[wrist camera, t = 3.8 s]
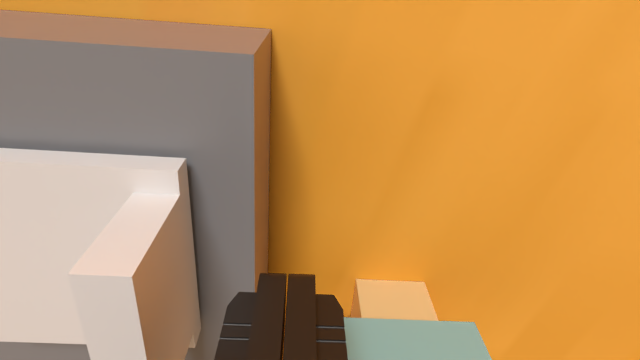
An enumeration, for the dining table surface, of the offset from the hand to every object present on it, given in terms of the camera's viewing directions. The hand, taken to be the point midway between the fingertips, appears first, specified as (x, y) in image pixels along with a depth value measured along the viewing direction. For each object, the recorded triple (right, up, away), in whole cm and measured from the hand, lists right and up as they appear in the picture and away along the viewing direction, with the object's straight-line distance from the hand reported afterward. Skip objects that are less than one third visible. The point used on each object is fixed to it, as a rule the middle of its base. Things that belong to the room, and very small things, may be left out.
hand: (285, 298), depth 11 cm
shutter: (-6, +1, +1) cm, 6 cm away
